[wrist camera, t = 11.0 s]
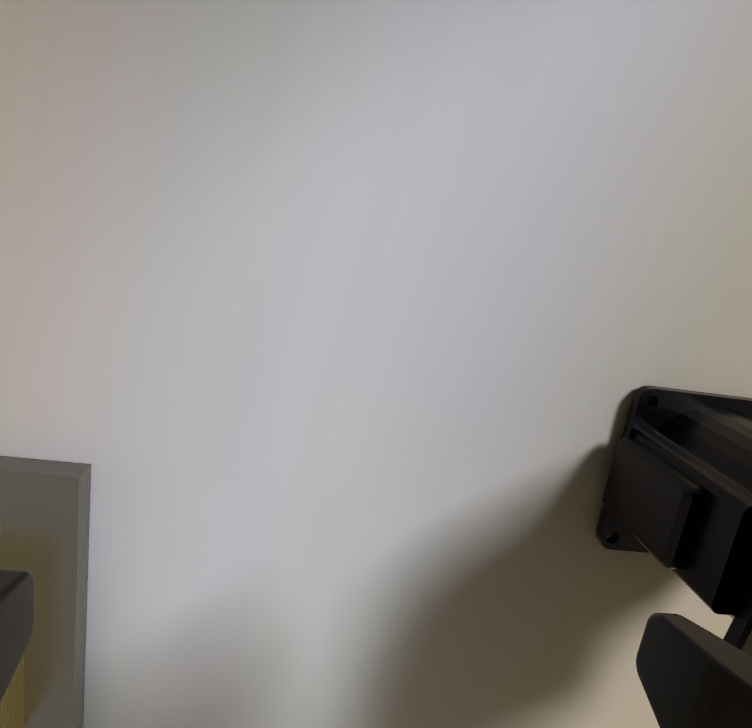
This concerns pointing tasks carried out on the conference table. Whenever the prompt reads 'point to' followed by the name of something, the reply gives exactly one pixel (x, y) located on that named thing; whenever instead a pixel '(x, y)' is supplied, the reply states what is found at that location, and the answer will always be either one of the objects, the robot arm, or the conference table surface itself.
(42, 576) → the keeper plate
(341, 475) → the conference table surface
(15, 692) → the yellow rectangular frame
